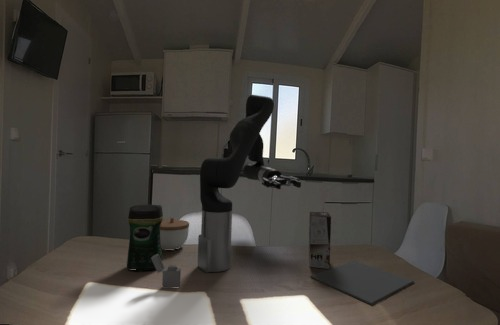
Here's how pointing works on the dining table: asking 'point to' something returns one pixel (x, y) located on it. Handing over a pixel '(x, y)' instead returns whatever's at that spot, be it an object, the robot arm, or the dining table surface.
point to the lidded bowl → (173, 233)
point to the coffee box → (319, 239)
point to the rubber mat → (362, 281)
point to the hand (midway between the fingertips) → (290, 185)
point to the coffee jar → (144, 236)
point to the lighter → (167, 272)
